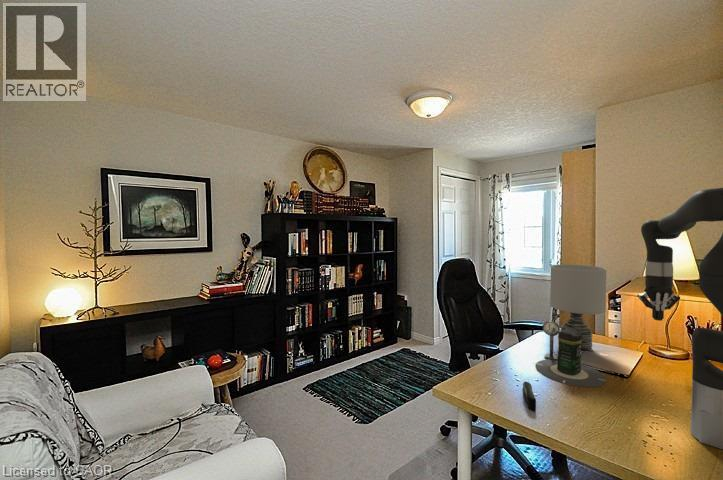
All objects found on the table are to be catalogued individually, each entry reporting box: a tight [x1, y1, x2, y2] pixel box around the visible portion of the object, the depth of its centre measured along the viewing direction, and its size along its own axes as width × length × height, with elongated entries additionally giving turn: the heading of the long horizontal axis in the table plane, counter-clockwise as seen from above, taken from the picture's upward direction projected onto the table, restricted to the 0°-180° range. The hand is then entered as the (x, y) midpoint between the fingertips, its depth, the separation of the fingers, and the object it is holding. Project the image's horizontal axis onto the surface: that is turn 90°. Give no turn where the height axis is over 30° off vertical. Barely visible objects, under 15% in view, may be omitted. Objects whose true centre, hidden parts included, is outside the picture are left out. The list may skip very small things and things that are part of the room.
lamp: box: [549, 264, 607, 352], centre depth 167 cm, size 24×24×42 cm
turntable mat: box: [534, 359, 607, 388], centre depth 140 cm, size 26×26×1 cm
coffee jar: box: [557, 328, 582, 375], centre depth 139 cm, size 10×8×19 cm
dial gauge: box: [542, 320, 561, 360], centre depth 154 cm, size 5×7×18 cm
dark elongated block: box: [522, 381, 537, 412], centre depth 118 cm, size 5×3×15 cm
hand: (657, 320), depth 118 cm, fingers closed
